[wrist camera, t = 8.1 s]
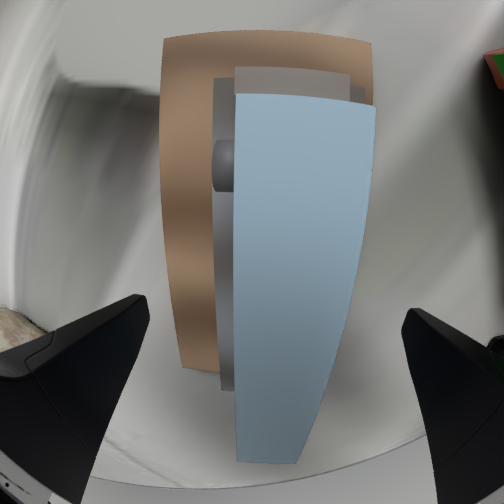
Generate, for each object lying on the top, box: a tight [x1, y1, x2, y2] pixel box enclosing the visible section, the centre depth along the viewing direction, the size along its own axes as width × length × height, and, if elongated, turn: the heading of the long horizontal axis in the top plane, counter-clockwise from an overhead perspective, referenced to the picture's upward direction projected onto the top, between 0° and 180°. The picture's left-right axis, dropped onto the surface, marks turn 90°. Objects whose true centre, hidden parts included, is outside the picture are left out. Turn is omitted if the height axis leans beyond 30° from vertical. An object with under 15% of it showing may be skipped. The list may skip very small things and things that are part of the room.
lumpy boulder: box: [0, 308, 46, 352], centre depth 18 cm, size 11×11×15 cm
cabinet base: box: [159, 30, 373, 391], centre depth 12 cm, size 20×10×6 cm, turn 179°
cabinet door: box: [212, 94, 376, 464], centre depth 10 cm, size 12×3×8 cm, turn 178°
